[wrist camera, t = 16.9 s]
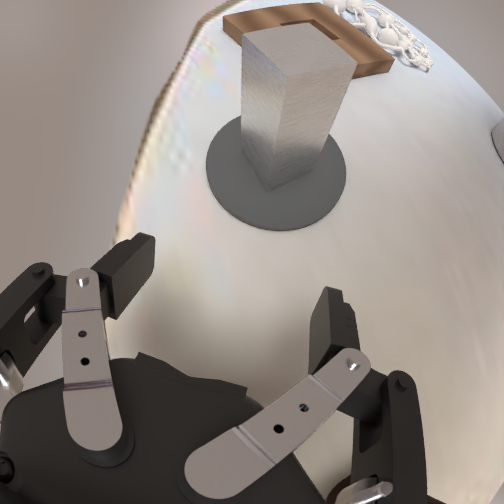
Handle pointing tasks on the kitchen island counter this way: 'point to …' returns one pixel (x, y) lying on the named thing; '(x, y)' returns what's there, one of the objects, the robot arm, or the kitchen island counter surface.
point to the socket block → (326, 21)
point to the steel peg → (289, 99)
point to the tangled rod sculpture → (385, 35)
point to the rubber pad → (280, 199)
